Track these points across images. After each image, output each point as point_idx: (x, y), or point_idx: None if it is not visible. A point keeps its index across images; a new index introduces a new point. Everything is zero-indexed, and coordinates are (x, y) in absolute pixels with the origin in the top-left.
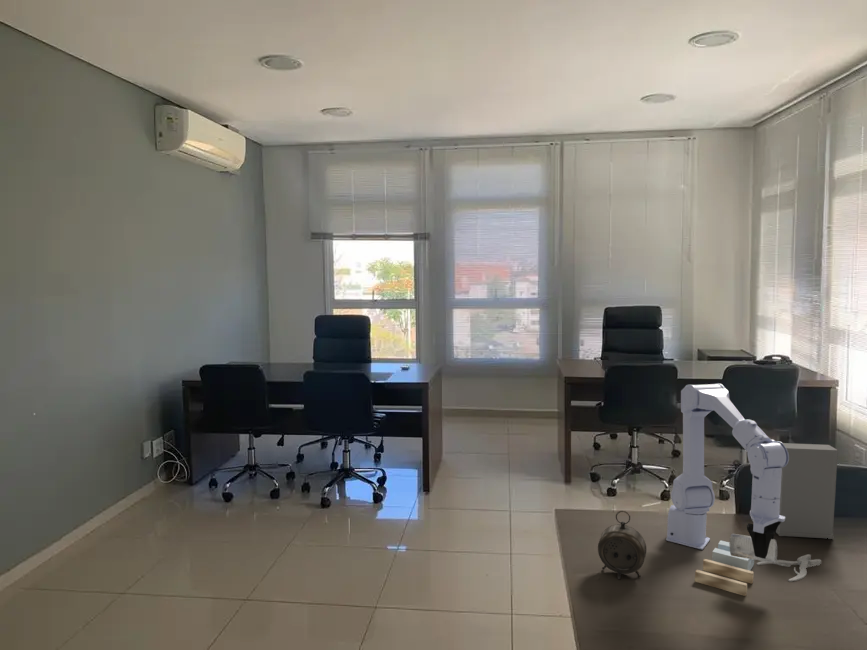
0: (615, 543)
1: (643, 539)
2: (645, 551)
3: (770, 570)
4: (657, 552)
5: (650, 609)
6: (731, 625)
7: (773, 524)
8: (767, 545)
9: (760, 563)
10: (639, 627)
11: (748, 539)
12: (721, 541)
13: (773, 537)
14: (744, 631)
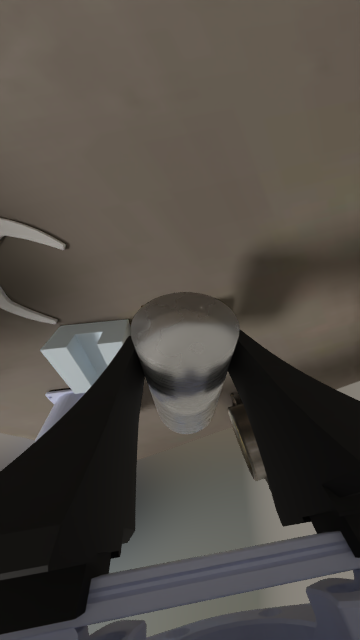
0: None
1: (248, 449)
2: (251, 429)
3: (53, 295)
4: (154, 405)
5: (303, 364)
6: (322, 287)
7: (101, 486)
8: (289, 366)
9: (47, 318)
10: (347, 357)
11: (208, 408)
12: (78, 391)
13: (124, 374)
14: (339, 266)
